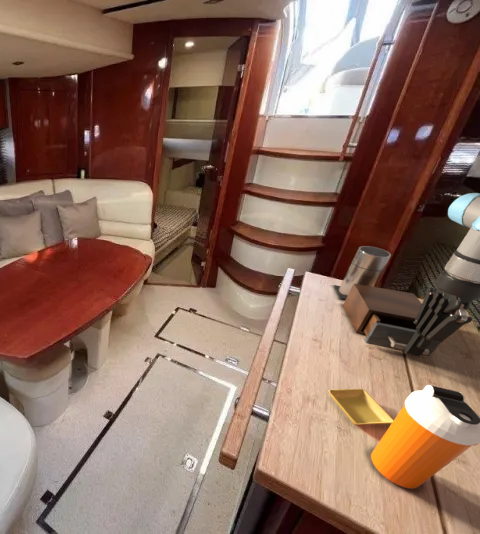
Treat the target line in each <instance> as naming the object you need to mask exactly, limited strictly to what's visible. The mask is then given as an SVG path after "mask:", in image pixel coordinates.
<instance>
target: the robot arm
mask: <svg viewBox="0 0 480 534" xmlns="http://www.w3.org/2000/svg"><path fill="white" fill-rule="evenodd" d="M447 216H448V219H449V220H451V221H453V222H455V223H457V224H459V225H461V226H463V227H465V228H469V229H468V232H467V233H466V234H465V236H464V238H463V239H462V241H461V242H460V244H459V246H458V247H457V249H456V250H455V251H454V252H453V253H452V255H451V257H450V258H449V260H448V261H447V263H446V264H445V265H444V267H443V268H444V269H443V270H442V271H441V272H440V273H439V275H438V276H437V277H436V279H435V280H434V286H435V287H427V288H426V291H425V297H424V299H423V301H422V302H421V303H422V305H421V307H420V309H419V312H418V314H417V316H416V318H415V321H414V323H415V324H417V327H416V330H417V331H416V332H415V334H414V335H413V337H412V339H411V340H410V341H409V343H408V344H407V346H406V347H405V349H404V351H403V352H404V353H405V355H409V356H413V357H417V358H420V357H421V356H422V353H423V352H424V351H425V349H427V348H428V346H429V345H430V344H431V342H432V341H436V342H440V344H441V343H444V342H445V341H446V340H447V339H448V338H450V337H451V335H453V334H454V333H456V332H457V331H458V330H459V329H460V328H462V327H463V326H465V325H467V324H469V323H471V322H472V321H473V317H472V316H468V315H467V310H469V308H470V307H471V303H472V302H473V301H476V300H480V193H479V192H472V193H471V192H470V193H469V192H468V193H466V194H463V195H461V196H459V197H458V198H456V199H455V200H453V202H452V203H451V204H450V205H449V207H448V209H447ZM421 319H422V320H421Z"/></svg>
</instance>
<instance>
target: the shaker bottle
mask: <svg viewBox="0 0 480 534" xmlns="http://www.w3.org/2000/svg"><path fill="white" fill-rule="evenodd" d="M465 398H466V397H465V395H464V394H463V393H462V392H460V391H457V390H453V389H449V388H444V387H440V386H436V385H431V384H427V385H426V386H425V387H424V388H423V389H422V390H413V391H412V392H411V393H410V394H409V395H408V396H407V398H406V399H404V402H403V406H402V408H401V409H400V411H399V412H398V414H397V415H396V416H395V418H394V419H393V420H394V421H393V422H392V424H389V425H390V426H389V427H388V429H387V430H386V431H385V433H384V434H383V435H382V437H381V439H380V440H379V441H378V443H377V444H376V446H375V447H374V449H373V450H372V452H371V454H370V459H371V462H372V464H373V465H374V467H375V469H376V470H377V471H378V472H379V473H380V474H381V475H382V476H383V477H385V478H386V479H387V480H389V481H390V482H392V484H395V485H398V486H399V487H401V488H405V489H417V488H419V487H420V486H421V485H422V484H424V483H425V482H427V481H428V480H429V479H431V478H432V477H433V476H435V475H436V474H437V473H438V472H440V471H441V470H443V469H444V468H445V467H446V466H447V465H449V464H450V463H452V462H453V461H454V460H455V459H457V458H458V457H460V456H461V455H462V454H463V453H465V452H466V451H467V450H468V449H470V448H472V447H474V446H477V445H479V444H480V415H479V414H478V413H477V412H476V411H475V410H473V408H472V407H471V406H470V405H469V404H468V403H467V402H466V399H465Z"/></svg>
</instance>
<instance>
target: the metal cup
mask: <svg viewBox="0 0 480 534" xmlns="http://www.w3.org/2000/svg"><path fill="white" fill-rule="evenodd" d="M391 256H392V254H391V253H390V252H389V251H387V250H385V249H383V248H379V247H376V246H370V245H368V246H367V245H362V246H359V247H358V249H357V250H356V253H355V255H354V257H353V258H352V260H351V263H350V265H349V267H348V269H347V272H346V273H345V276H344V278H343V280H342V281H341V284H340V285H339V286H340V288H339V290H338V291H339V293H340V294H341V295H343V296H344V297H347V296H348V294H349V292H350V290H351V288H352V286H353V284H359V285H365V286H371V287H375V285H376V283H377V282H378V280H379V278H380V276H381V274H382V273H383V271H384V270H385V267H386V265H387V264H388V262H389V260H390V258H391Z"/></svg>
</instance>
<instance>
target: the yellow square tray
mask: <svg viewBox="0 0 480 534" xmlns="http://www.w3.org/2000/svg"><path fill="white" fill-rule="evenodd" d="M328 394H329V395H330V397H331V399H332V400H333V401H334V402H335V403H336V405H337V406H338V407H339V408H340V409H341V411H342V412H343V413H344V414H345V416H346V417H347V418H348V419H349V421H351V423H353V424H354V425H356V426H360V425H361V426H363V425H364V426H365V425H391V424H392V422H393V421H394V420H395V419H393V418H392V416H391V415H389V413H388V412H386V410H385V409H384V408H382V406H381V405H380V404H379V403H378V402H377V401H376V400H375V399H374V398H373V397H372V396H371V394H369V393H368V392H367V391H366V389H364V388H347V389H346V388H345V389H340V388H339V389H328Z"/></svg>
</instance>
